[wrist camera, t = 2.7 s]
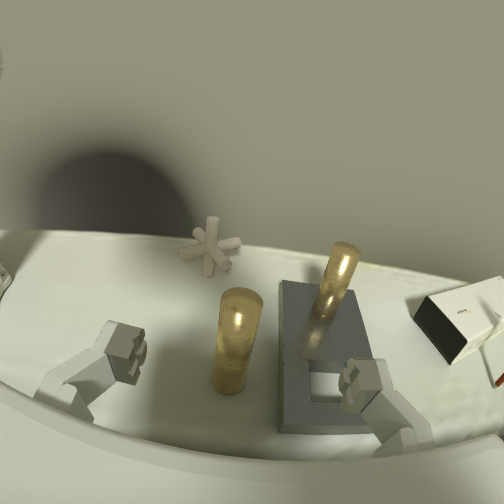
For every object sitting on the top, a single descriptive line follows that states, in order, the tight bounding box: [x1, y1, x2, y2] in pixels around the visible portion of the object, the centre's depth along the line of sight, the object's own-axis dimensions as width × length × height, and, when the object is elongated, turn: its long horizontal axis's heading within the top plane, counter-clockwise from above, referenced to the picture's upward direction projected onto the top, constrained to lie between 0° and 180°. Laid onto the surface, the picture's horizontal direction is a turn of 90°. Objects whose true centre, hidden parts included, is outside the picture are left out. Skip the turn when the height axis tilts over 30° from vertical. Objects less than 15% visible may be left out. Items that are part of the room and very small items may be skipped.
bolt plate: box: [278, 242, 373, 435], centre depth 35 cm, size 24×12×13 cm, turn 176°
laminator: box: [413, 276, 504, 365], centre depth 46 cm, size 34×12×6 cm, turn 108°
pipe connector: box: [178, 216, 241, 277], centre depth 46 cm, size 10×10×10 cm
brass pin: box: [212, 287, 263, 395], centre depth 29 cm, size 4×4×13 cm
